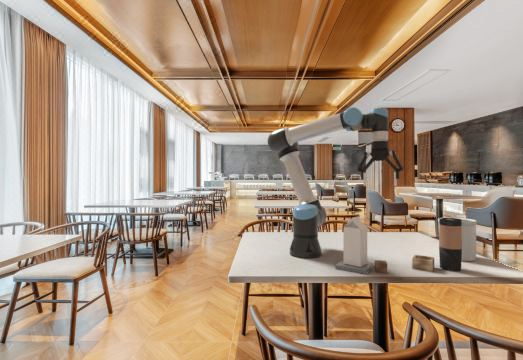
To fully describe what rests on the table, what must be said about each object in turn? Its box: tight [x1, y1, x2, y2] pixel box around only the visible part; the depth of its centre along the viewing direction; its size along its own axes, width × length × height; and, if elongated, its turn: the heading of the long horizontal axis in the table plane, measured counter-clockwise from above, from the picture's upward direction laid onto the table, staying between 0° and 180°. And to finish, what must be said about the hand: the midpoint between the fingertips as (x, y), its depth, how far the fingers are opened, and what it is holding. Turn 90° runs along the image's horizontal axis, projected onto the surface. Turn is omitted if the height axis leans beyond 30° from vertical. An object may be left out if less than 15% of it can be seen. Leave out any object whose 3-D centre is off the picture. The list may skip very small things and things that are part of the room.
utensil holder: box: [437, 217, 478, 262], centre depth 132 cm, size 15×15×18 cm
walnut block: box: [374, 259, 388, 275], centre depth 111 cm, size 4×4×4 cm
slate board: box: [334, 258, 375, 275], centre depth 117 cm, size 12×12×2 cm
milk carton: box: [343, 216, 368, 267], centre depth 117 cm, size 7×7×19 cm
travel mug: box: [438, 217, 463, 272], centre depth 115 cm, size 8×8×20 cm
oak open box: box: [411, 254, 435, 273], centre depth 116 cm, size 7×7×4 cm
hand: (379, 186), depth 136 cm, fingers open, 13 cm apart
